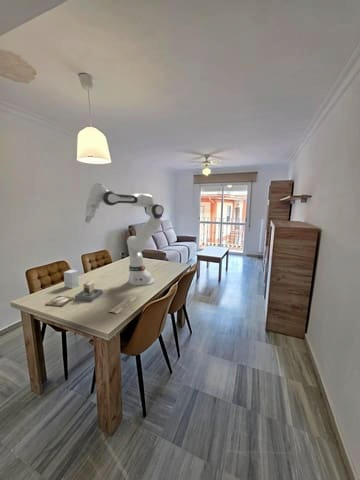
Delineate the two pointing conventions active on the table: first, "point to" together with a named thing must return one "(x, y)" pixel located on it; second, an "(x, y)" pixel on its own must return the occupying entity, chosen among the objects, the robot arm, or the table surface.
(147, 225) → the robot arm
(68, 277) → the supplement box
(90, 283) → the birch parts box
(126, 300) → the newspaper
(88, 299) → the charcoal bin
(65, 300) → the walnut board
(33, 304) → the table surface
